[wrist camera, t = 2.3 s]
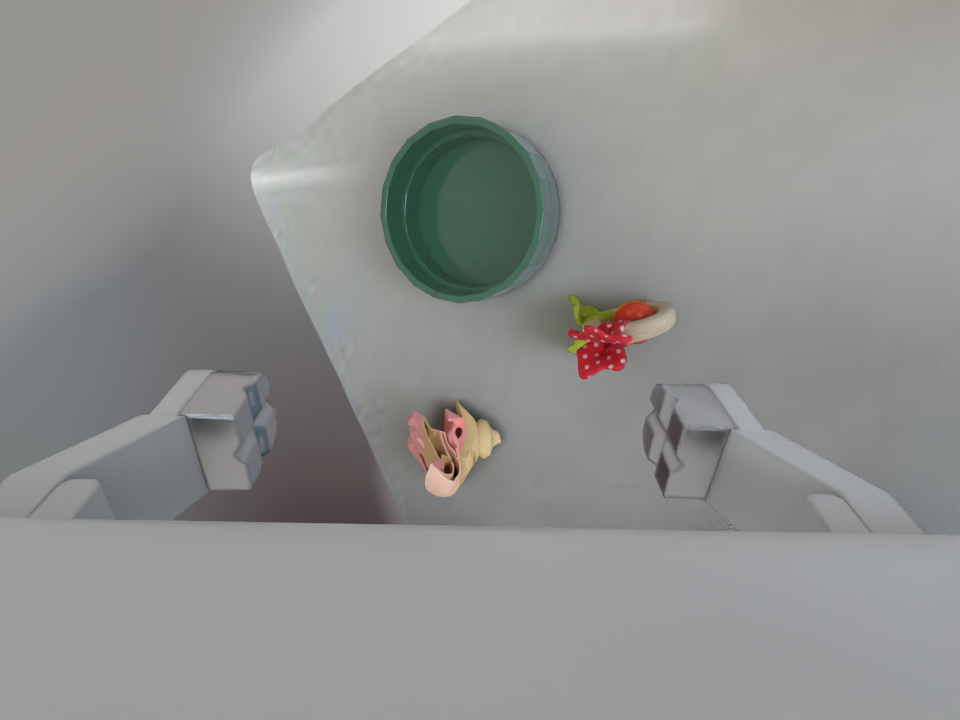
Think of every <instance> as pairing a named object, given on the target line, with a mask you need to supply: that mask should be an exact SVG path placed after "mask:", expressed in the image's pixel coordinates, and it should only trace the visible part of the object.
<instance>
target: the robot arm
mask: <svg viewBox="0 0 960 720" xmlns="http://www.w3.org/2000/svg"><path fill="white" fill-rule="evenodd" d="M271 390H272V389H271V385H270V381H269V377H268V376H267V375H266V374H265V373H264V372H241V371H222V370H220V371H219V370H217V371H215V370H189V371H186V372H185V373H184V375H183V376H182V377H181V378H180V379H179V380H178V382H177V383H176V384H175V385H174V386H173V388H172V389H171V390H170V391H169V392H168V393H167V395H166V396H165V397H164V398H163V399H162V401H161V402H160V403H159V404H158V405H157V406H156V407H155V409H154V410H153V411H152V412H151V413H150V415H140V416H138V417H135V418H133V419H131V420H129V421H127V422H124V423H122V424H120V425H118V426H116V427H114V428H112V429H109V430H107V431H105V432H103V433H101V434H98V435H96V436H94V437H92V438H90V439H88V440H85V441H83V442H81V443H79V444H77V445H75V446H72V447H71V448H68V449H66V450H64V451H61V452H60V453H57V454H55V455H53V456H51V457H48V458H46V459H44V460H42V461H40V462H38V463H35V464H33V465H31V466H29V467H27V468H25V469H22V470H20V471H18V472H16V473H14V474H11V475H9V476H8V477H7V478H6V479H5V480H4V481H3V482H2V483H1V484H0V720H960V535H933V534H926V533H925V532H924V531H923V530H922V529H921V527H920V526H919V525H918V524H917V523H916V522H915V521H914V520H913V519H912V517H911V516H910V515H909V514H908V513H907V512H906V511H905V510H904V509H903V508H902V506H901V505H900V504H899V503H898V502H897V501H896V500H895V499H894V498H893V496H892V495H891V494H889V493H887V492H885V491H883V490H882V489H880V488H878V487H876V486H874V485H872V484H871V483H869V482H867V481H865V480H863V479H861V478H859V477H858V476H856V475H854V474H852V473H850V472H848V471H846V470H845V469H843V468H841V467H839V466H837V465H835V464H834V463H832V462H830V461H828V460H826V459H824V458H822V457H821V456H819V455H817V454H815V453H813V452H811V451H809V450H808V449H806V448H804V447H802V446H800V445H798V444H797V443H795V442H793V441H791V440H789V439H787V438H785V437H784V436H782V435H780V434H778V433H776V432H774V431H773V430H764V428H763V427H762V426H761V424H760V423H759V422H758V420H757V419H756V418H755V416H754V415H753V414H752V412H751V411H750V410H749V408H748V407H747V406H746V404H745V403H744V402H743V400H742V399H741V398H740V396H739V395H738V394H737V392H736V391H735V390H734V388H733V387H732V386H730V385H728V384H656V386H655V387H654V389H653V392H652V395H651V399H650V401H651V403H652V405H653V407H654V410H653V411H652V412H651V413H650V414H649V415H648V416H646V419H645V424H644V428H643V444H644V449H645V453H646V455H647V458H648V460H649V461H651V462H652V463H653V464H655V465H656V466H657V467H656V471H655V474H654V475H655V477H656V480H657V482H658V484H659V487H660V489H661V491H662V494H663V496H664V498H679V499H701V500H705V502H706V503H707V504H709V505H710V506H711V507H712V508H713V509H714V510H715V511H716V512H718V513H719V514H720V515H721V516H722V517H723V518H724V519H725V520H727V521H728V522H729V523H730V524H731V525H732V526H733V527H734V528H736V529H737V530H738V531H715V530H659V529H603V528H547V527H492V526H437V525H382V524H381V525H380V524H379V525H378V524H326V523H273V522H272V523H270V522H218V521H172V520H173V519H174V518H175V517H177V516H178V515H179V514H180V513H182V512H183V511H184V510H186V509H187V508H188V507H189V506H191V505H192V504H193V503H195V501H197V500H198V499H200V498H201V497H202V496H203V495H205V494H206V493H207V492H208V490H236V489H237V490H241V489H244V490H245V489H252V488H253V486H254V484H255V481H256V480H257V477H258V475H259V473H260V471H261V469H262V467H263V464H262V459H261V457H262V456H264V455H265V454H267V453H268V452H270V451H271V448H272V446H273V444H274V441H275V437H276V431H277V416H276V410H275V407H274V406H273V405H272V404H271V403H270V402H269V401H268V400H267V398H268V396H269V394H270V392H271Z"/></svg>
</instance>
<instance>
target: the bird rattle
mask: <svg viewBox="0 0 960 720" xmlns="http://www.w3.org/2000/svg"><path fill="white" fill-rule="evenodd" d="M569 300H570V301H571V302H572V304H573V305H574V317H575V320H576V322H577V323H578V324H579V325H580V326H582V329H581V331H580V332H578V331H577V330H573V329H570V330H568V336H569V337H571V338H573V339H576V340H575V342H574V344H573V345H572V346H569V347H568V351H569V352H571V353H574V354H577V357H578V373H579V376H580V378H581V379H583V380H585V379H587V378H589V377H591V376H593V375H594V374H596V373H598V372H599V371H601V370H603V369H609V370H612V371H620V370H622V369H623V368H624V367H625V364H626V362H627V356H626V352H625V349H624V348H623V347H626V346H630V345H631V344H639V343H643V342H645V341H647V340H648V339H650V338H653V337H656V336H658V335H660V334H663V333H665V332H666V331H668V330H670V329H671V328H672V327H673V326H674V325H675V323H676V312H675V309H674V308H673V307H672V306H671V305H670V304H667V303H663V302H653V301H652V300H646V301H643V302H642V301H637V300H633V301H628V302H625V303H623V304H622V305H620V306H619V307H616V308H613V309H609V310H603V311H601V312H600V311H599V310H598V309H597V308H595V307H593V306H582V305H581V303H580V301H579V299H578V297H577V296H573V295H569Z"/></svg>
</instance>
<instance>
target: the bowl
mask: <svg viewBox="0 0 960 720" xmlns="http://www.w3.org/2000/svg"><path fill="white" fill-rule="evenodd" d="M559 215H560V207H559V199H558V192H557V184H556V182H555V180H554V178H553V175H552V173H551V171H550V169H549V167H548V165H547V163H546V161H545V159H544V157H543V156H542V155H541V154H540V153H539V152H538V151H537V150H536V149H535V148H534V147H533V146H532V145H531V144H530V143H529V142H528V141H527V140H526V139H525V138H523V137H521V136H519V135H517V134H515V133H513V132H511V131H509V130H506V129H504V128H502V127H500V126H498V125H496V124H494V123H492V122H490V121H487V120H485V119H483V118H480V117H467V116H452V117H448V118H445V119H442V120H439V121H435V122H432V123H429V124H428V125H426V126H425V127H424V128H422V129H421V130H420V131H418V132H417V133H416V134H414V135H413V136H412V137H410V138H409V139H408V140H407V141H406V142H405V144H404V145H403V146H402V148H401V149H400V151H399V152H398V153H397V155H396V156H395V158H394V159H393V160H392V162H391V165H390V168H389V171H388V174H387V176H386V179H385V182H384V185H383V189H382V202H381V221H382V226H383V231H384V237H385V242H386V244H387V246H388V248H389V250H390V253H391V255H392V257H393V259H394V261H395V263H396V265H397V267H398V268H399V269H400V270H401V271H402V272H403V274H404V275H405V276H406V277H407V278H408V279H409V280H410V281H411V282H412V284H413V285H414V286H416V287H418V288H419V289H421V290H423V291H424V292H426V293H428V294H429V295H431V296H433V297H435V298H437V299H442V300H447V301H452V302H456V303H465V302H472V301H479V300H485V299H488V298H491V297H495V296H498V295H501V294H504V293H506V292H508V291H510V290H512V289H514V288H516V287H518V286H520V285H522V284H524V283H525V282H527V281H528V279H529V278H530V277H531V276H532V275H533V274H534V273H535V272H536V271H537V270H538V269H539V268H540V267H541V266H542V265H543V263H544V262H545V260H546V258H547V256H548V254H549V252H550V250H551V248H552V246H553V244H554V242H555V239H556V234H557V227H558V221H559Z"/></svg>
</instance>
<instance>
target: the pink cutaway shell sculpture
mask: <svg viewBox="0 0 960 720" xmlns="http://www.w3.org/2000/svg"><path fill="white" fill-rule="evenodd" d="M456 410H457V414H458V415H456V414H455V413H453V412H452V411H450V410H448V409H447V408H446V409H445V417H444V429H445V432H443V431H440V430H436V429H432V428H430V426H429V424H428V422H427V421H426V419H425V417H424V416H423V415H421V414H419V413H417V412H416V411H413V412H412V413H411V415H410V416H409V418H408V424H409V425H410V426H409V429H410V435H411V438H408V447H409V449H410V451H411V453H412V454H413V455H414V456H415V458H416V459H417V460H418V461H419V463H420V464H421V466H422V467H423V469H424V472H425V475H426V479H425V485H426V488H427V490H428V491H429V492H430V493H432V494H434V495H436V496H439V497H449V496H451V495H453V494H454V493H455V492H456V491H457V490H458V489H459V488H460V486H461V485H462V483H463V482H464V480H465V478H466V476H467V474H468V473H469V471H470V469H471V467H472V466H473V465H474V464H475V462H476V461H477V459H478V457H481V458H483V459H485V458H486V457H488V456H490V454H491V450H492V448H493V447H494V446H495V445H497V444H499V443H500V442H501V439H500V435H499V433H498V431H496V430H493V429H492V428H491V427H490V426H489V423H488V421H487V420H484V419H482V418H481V419H479V420H478V421H475V419H474V418H473V417H472V416H471V415H470V414H469V413H468V412H467V411H466V410H465V409H464V408H463V407H462V406H461V405H460V403H459V402H458V401H456Z"/></svg>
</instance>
